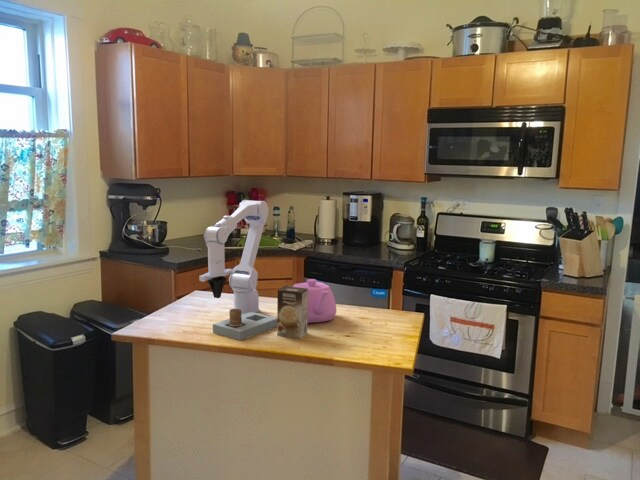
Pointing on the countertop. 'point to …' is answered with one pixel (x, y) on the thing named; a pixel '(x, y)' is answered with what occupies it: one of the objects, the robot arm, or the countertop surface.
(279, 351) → the countertop surface
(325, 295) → the teapot
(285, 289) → the coffee box
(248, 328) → the grey board with holes
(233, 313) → the walnut peg
